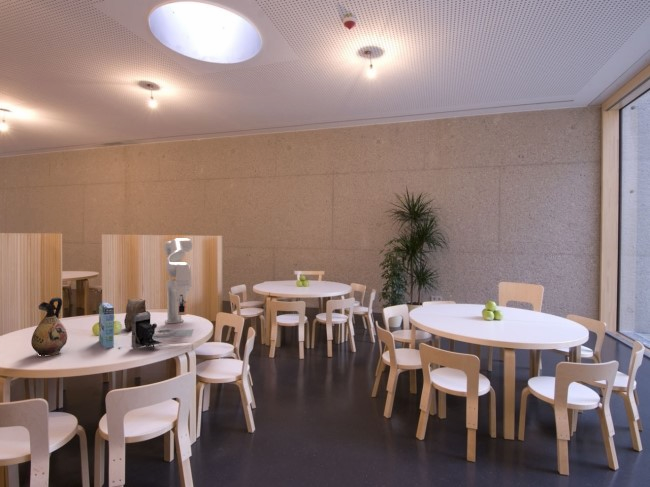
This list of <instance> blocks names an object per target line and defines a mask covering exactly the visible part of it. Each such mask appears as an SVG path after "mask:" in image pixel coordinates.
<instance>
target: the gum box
mask: <svg viewBox="0 0 650 487" xmlns="http://www.w3.org/2000/svg"><path fill="white" fill-rule="evenodd" d="M98 309H99V310H98V341H99V343H100V344H101V346H102V347H103V349H111V348H114V341H115V340H114V339H115V337H114V335H115V333H114V332H115V330H114V328H115V327H114V326H115V325H114V324H115V313H114V312H115V311H114V310H115V307H114V306H113V305H111V304H110V303H109V302H100V303H98Z"/></svg>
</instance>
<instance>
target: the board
mask: <svg viewBox="0 0 650 487" xmlns="http://www.w3.org/2000/svg"><path fill="white" fill-rule="evenodd" d="M175 330H176V333H175V335H172V336H168V337H154V336H152V339H154V340H157V339H171V338H174V339H175V338H189V337H190V338H191V337H192V335H193V332H194V331H195V329H194V328H192V329H175Z"/></svg>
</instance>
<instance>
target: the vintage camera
mask: <svg viewBox="0 0 650 487" xmlns="http://www.w3.org/2000/svg"><path fill="white" fill-rule="evenodd" d="M157 326H158V324H157V323H151V312H149V311H147V310H146V312H144V313H139V314H135V313H134V315H132V331H131V348H132V349H133V350H134V349H137V348H138V349H139V348H142V347H152V351H155V345H159V344H162V342H161V341H159V340H157V339H152V336H153V335H154V333H155V330H156V328H157Z"/></svg>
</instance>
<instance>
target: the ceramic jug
mask: <svg viewBox="0 0 650 487" xmlns="http://www.w3.org/2000/svg"><path fill="white" fill-rule="evenodd" d="M56 302H57V305H56V306H55V303H56ZM62 305H63V300H62V298H60V297H58V296H57V297H53V298H51V299H50V300H49V302H45V301H43V302H41V303H40V304H39V305H38V306H37V307H38V310H40V311H44V312H46V315H45V316H44V317H43V319H42V320H41V321H40V322H39V324H38V325H37V326H36V327H35V329H34V331H33V333H32V336H31V341H30V343H31V346H32V349H33V350H34V351H35V352H36V353H37V355H38V354H39V355H41V357H46V356H45V355H52V356H55V355H58V354H59V353H60V352H61V350H62V348H64V346H65V345H66V343H67V341H68V333H67V329H66V327H65V326H64V324H63V323H62V322H61V320H60V317H59V316H60V312H61V310H62ZM57 353H58V354H57ZM54 354H55V355H54Z"/></svg>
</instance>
